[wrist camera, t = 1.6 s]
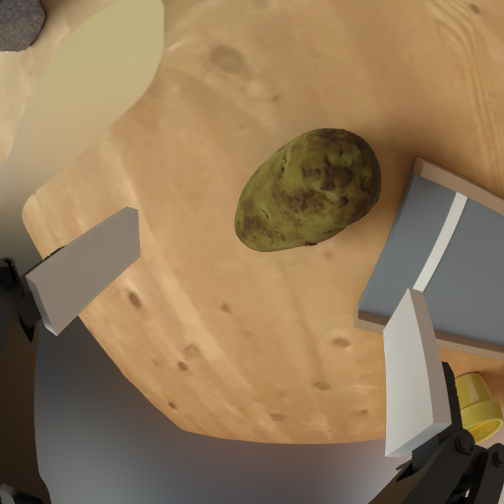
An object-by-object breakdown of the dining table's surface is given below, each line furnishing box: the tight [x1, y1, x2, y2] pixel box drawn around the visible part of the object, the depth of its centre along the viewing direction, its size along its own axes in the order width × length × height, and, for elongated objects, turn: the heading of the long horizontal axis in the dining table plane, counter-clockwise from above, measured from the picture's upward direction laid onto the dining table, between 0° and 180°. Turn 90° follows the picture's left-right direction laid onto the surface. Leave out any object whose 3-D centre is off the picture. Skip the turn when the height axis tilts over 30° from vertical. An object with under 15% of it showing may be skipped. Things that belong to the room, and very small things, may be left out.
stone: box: [0, 0, 45, 52], centre depth 16 cm, size 12×10×10 cm
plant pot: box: [455, 373, 504, 444], centre depth 26 cm, size 10×10×10 cm
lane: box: [354, 157, 504, 360], centre depth 21 cm, size 17×26×4 cm
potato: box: [235, 128, 381, 252], centre depth 20 cm, size 8×13×8 cm, turn 114°
